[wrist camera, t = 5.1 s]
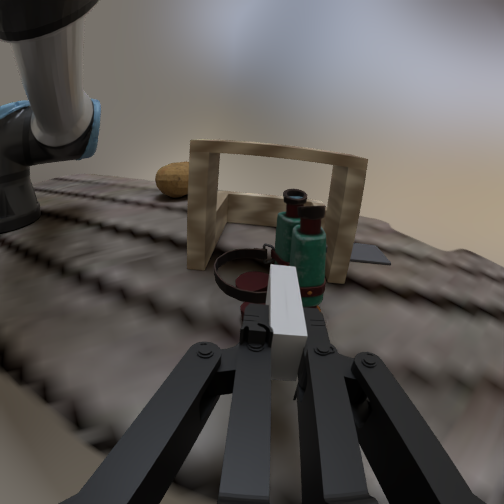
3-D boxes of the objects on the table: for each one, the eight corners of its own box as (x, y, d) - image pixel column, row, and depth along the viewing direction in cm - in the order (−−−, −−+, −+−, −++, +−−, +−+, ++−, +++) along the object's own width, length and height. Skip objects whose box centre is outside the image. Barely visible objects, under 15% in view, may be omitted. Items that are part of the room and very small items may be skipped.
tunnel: (187, 268, 33) (190, 139, 27) (217, 217, 52) (222, 138, 47) (344, 283, 32) (368, 159, 27) (317, 227, 52) (328, 149, 46)
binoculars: (208, 190, 27) (312, 185, 28) (216, 289, 31) (307, 281, 32) (209, 216, 18) (354, 209, 20) (220, 345, 23) (338, 330, 24)
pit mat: (339, 259, 39) (340, 257, 39) (330, 242, 45) (330, 240, 45) (390, 265, 39) (391, 263, 39) (375, 247, 45) (375, 245, 45)
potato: (142, 200, 61) (143, 164, 58) (176, 189, 74) (177, 159, 71) (179, 205, 59) (180, 167, 56) (209, 193, 71) (211, 162, 68)
